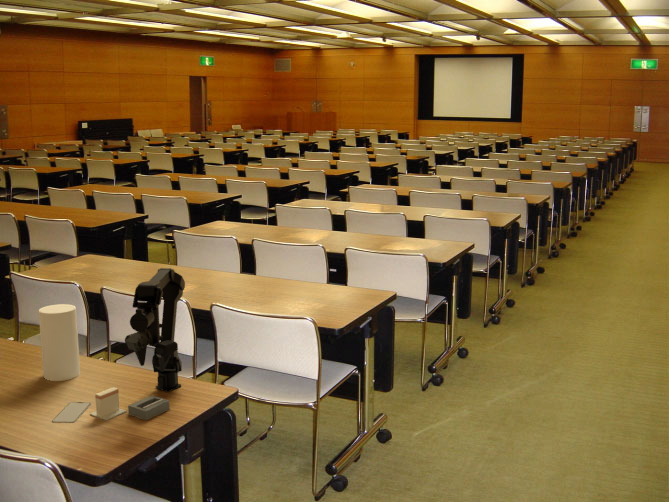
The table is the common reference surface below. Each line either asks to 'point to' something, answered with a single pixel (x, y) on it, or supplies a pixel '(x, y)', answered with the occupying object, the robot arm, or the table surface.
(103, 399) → the cream rectangular block
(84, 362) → the table surface
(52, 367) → the cylinder
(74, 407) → the smartphone
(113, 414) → the mat
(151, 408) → the dispenser
